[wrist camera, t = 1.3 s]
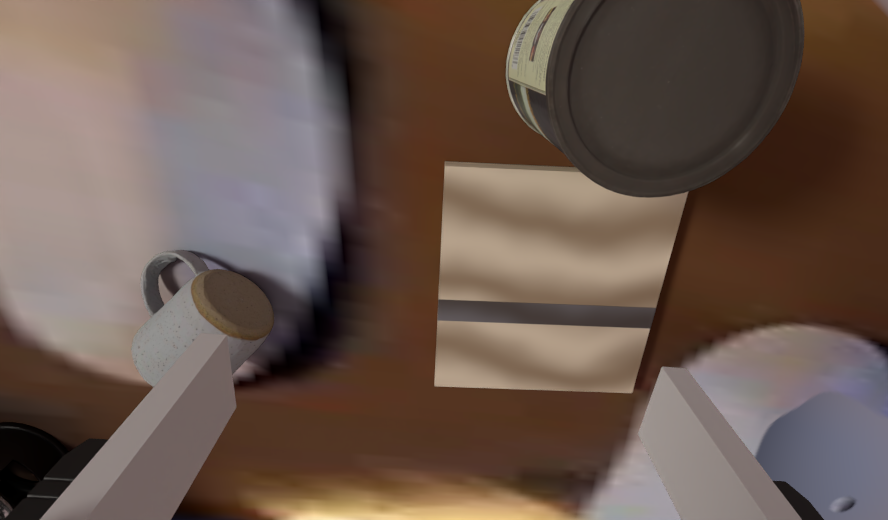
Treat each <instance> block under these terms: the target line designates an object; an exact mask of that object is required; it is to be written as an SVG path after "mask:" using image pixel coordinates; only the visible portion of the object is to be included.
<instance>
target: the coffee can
mask: <svg viewBox="0 0 888 520" xmlns="http://www.w3.org/2000/svg"><path fill="white" fill-rule="evenodd" d="M803 48H804V21H803V12H802V7H801V2H800V0H539V1H538V2H536V3H535V4H534V5H533V6H532V7H531V8H530V9H529V11H528V12H527V13H526V14H525V15H524V17H523V19H522V20H521V22H520V23H519V25H518V27H517V29H516V31H515V33H514V35H513V37H512V40H511V43H510V47H509V51H508V55H507V61H506V82H507V87H508V92H509V95H510V98H511V101H512V103H513V105H514V107H515V109H516V111H517V113H518V114H519V116H520V117H521V118H522V119H523V121H524V122H525V123H526V124H527V125H528V126H529V127H530V128H532V129H533V130H534V131H536V132H537V133H539V134H541V135H542V136H543V137H545V138H546V139H547V140H548V141H550V142H551V143H552V144H553V145H555V146H556V147H557V148H558V149H559V150H560V151H561V152H563V153H564V154H565V155H566V156H567V158H568V159H569V160H570V161H571V163H572V164H573V165H574V166H575V167H576V168H577V169H578V170H579V171H580V172H581V173H583V174H584V175H585V176H586V177H588V178H589V179H590V180H591V181H593V182H594V183H596V184H598V185H600V186H602V187H603V188H605V189H608V190H610V191H613V192H615V193H619V194H622V195H627V196H632V197H645V198H652V197H665V196H672V195H676V194H681V193H685V192H688V191H691V190H694V189H697V188H699V187H701V186H704V185H706V184H708V183H710V182H712V181H714V180H716V179H718V178H719V177H721V176H723V175H724V174H726V173H727V172H728V171H730V170H731V169H733V168H734V167H735V166H737V165H738V164H739V163H741V162H742V161H743V160H744V159H746V158H747V157H748V156H749V155H750V154H751V153H752V152H753V151H754V150H755V149H756V148H757V147H758V145H759V144H760V143H761V142H762V141H763V140H764V138H765V137H766V136H767V135H768V134H769V132H770V131H771V129H772V128H773V127H774V125H775V124H776V122H777V121H778V119H779V118H780V116H781V114H782V112H783V111H784V109H785V107H786V105H787V103H788V101H789V99H790V96H791V94H792V92H793V89H794V86H795V83H796V80H797V77H798V74H799V70H800V66H801V62H802V55H803Z"/></svg>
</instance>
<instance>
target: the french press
mask: <svg viewBox="0 0 888 520" xmlns="http://www.w3.org/2000/svg"><path fill="white" fill-rule="evenodd" d="M67 453H68V452H67V450H66V449H65V447H64V446H63V445H62V444H61V443H60V442H59V441H57V440H56V439H54V438H53V437H52V436H50V435H49V434H47V433H45V432H43V431H41V430H39V429H36V428H34V427H31V426H28V425H24V424H19V423H12V422H2V423H0V520H4V519H5V518H6V516H7V515H8V514H9V513H10V512H11V511H12V510H13V509H14V508H15V507H16V506H17V505H18V504H19V503H20V502H21V501H22V499H26V498H27V496H28V493H29V492H30V491H31V490H32V489H33V488H34V487H35V486H36V485H37V483H31V482H24V481H21V480H17V479H15V478H12V477H10V476H8V475H6V474H4V473H3V472H1V470H2V469H3V468H5V467H6V466H7V465H8V464H9V463H10V462H11V461H12V460H13V461H15V462H17V463H19V464H21V465H22V466H24V467H25V468H27V469H28V470H29V471H30V472H32V473H33V474H34V475H35V476H36V478H37V479H38V480H39V481H43V479H44V476H45V475H46V474H47V473H48V472H49V471H50V470H51V469H52V468H53V466H54V465H55V464H56V463H57V462H58V461H59V460H60V459H61V458H62V457H63V456H64V455H65V454H67Z"/></svg>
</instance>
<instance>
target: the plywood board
mask: <svg viewBox="0 0 888 520" xmlns="http://www.w3.org/2000/svg"><path fill="white" fill-rule="evenodd" d="M687 195H688V192H685V193H681V194H676V195H672V196H665V197H652V198H645V197H632V196H627V195H622V194H619V193H615V192H613V191H610V190H608V189H605V188H603V187H602V186H600V185H598V184H596V183H594V182H593V181H591V180H590V179H589V178H588V177H586V176H585V175H584V174H583V173H581V172H580V171H579V170H578V169H577V168H576V167H557V166H535V165H513V164H491V163H469V162H447V161H445V170H444V191H443V213H442V234H441V255H440V276H439V298H438V319H437V340H436V361H435V386H442V387H471V388H500V389H528V390H557V391H586V392H615V393H632V392H633V388H634V385H635V381H636V377H637V374H638V370H639V367H640V363H641V359H642V356H643V352H644V349H645V345H646V342H647V338H648V334H649V331H650V328H651V325H652V321H653V318H654V314H655V311H656V306H657V302H658V299H659V295H660V291H661V288H662V284H663V281H664V277H665V273H666V270H667V266H668V263H669V259H670V256H671V252H672V248H673V245H674V241H675V238H676V234H677V231H678V227H679V223H680V220H681V216H682V213H683V209H684V205H685V202H686V198H687Z"/></svg>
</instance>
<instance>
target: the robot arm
mask: <svg viewBox="0 0 888 520" xmlns="http://www.w3.org/2000/svg"><path fill="white" fill-rule="evenodd" d="M235 409H236V400H235V393H234V385H233V377H232V370H231V362H230V354H229V347H228V339H227V335H221V334H207V333H200V334H199V335H198V337H197V338H196V339H195V340H194V341H193V342H192V344H191V345H190V346H189V347H188V348H187V349H186V351H185V352H184V353H183V354H182V355H181V356H180V358H179V359H178V360H177V361H176V362H175V363H174V364H173V366H172V367H171V368H170V369H169V370H168V371H167V373H166V374H165V375H164V376H163V377H162V378H161V380H160V381H159V382H158V383H157V384H156V385H155V387H154V388H153V389H152V390H151V391H150V392H149V393H148V395H147V396H146V397H145V398H144V399H143V400H142V402H141V403H140V404H139V405H138V406H137V407H136V409H135V410H134V411H133V412H132V413H131V414H130V416H129V417H128V418H127V419H126V420H125V421H124V422H123V424H122V425H121V426H120V427H119V428H118V429H117V431H116V432H115V433H114V434H113V435H112V436H111V438H110V439H109V440H105V439H88V440H86V441H85V442H83V443H82V444H80V445H79V446H77V447H76V448H74V449H73V450H71V451H70V452H68V453H67V454H65V455H64V456H63V457H62V458H61V459H60V460H59V461H58V462H57V463H56V464H55V465H54V466H53V468H52V469H51V470H50V471H49V472H48V473H47V474H46V475H45V476H44V479H43V481H39V482H38V483H37V485H36V486H35V487H34V488H33V489H32V490H31V491H30V492H29V493H28V496H27V498H26V499H22V501H21V502H20V503H19V504H18V505H17V506H16V507H15V508H14V509H13V510H12V511H11V512H10V513H9V514H8V515H7V516H6V518H5V519H4V520H171V518H172V517H173V515H174V513H175V512H176V510H177V508H178V506H179V505H180V503H181V501H182V500H183V498H184V496H185V494H186V493H187V491H188V489H189V488H190V486H191V484H192V482H193V481H194V479H195V477H196V475H197V474H198V472H199V470H200V469H201V467H202V465H203V463H204V462H205V460H206V458H207V457H208V455H209V453H210V451H211V450H212V448H213V446H214V445H215V443H216V441H217V439H218V438H219V436H220V434H221V433H222V431H223V429H224V427H225V426H226V424H227V422H228V421H229V419H230V417H231V415H232V414H233V412H234V410H235ZM638 435H639V437H640V439H641V441H642V443H643V445H644V447H645V449H646V451H647V453H648V455H649V457H650V459H651V461H652V463H653V465H654V466H655V468H656V470H657V472H658V474H659V476H660V478H661V480H662V482H663V484H664V486H665V488H666V490H667V492H668V494H669V496H670V498H671V500H672V502H673V504H674V506H675V508H676V510H677V512H678V514H679V516H680V518H681V520H824V519H823V518H822V517H821V515H820V514H819V513H818V512H817V511H816V509H815V508H814V507H813V506H812V504H811V503H810V502H809V501H808V500H807V499H806V498H805V497H803V496H802V495H801V494H800V493H798V492H797V491H796V490H795V489H794V488H792V487H791V486H790V485H789V484H788V483H786V482H782V481H772V480H771V478H770V477H769V476H768V475H767V473H766V472H765V471H764V469H763V468H762V467H761V465H760V464H759V463H758V461H757V460H756V459H755V458H754V456H753V455H752V454H751V452H750V451H749V450H748V448H747V447H746V446H745V444H744V443H743V442H742V441H741V439H740V438H739V437H738V435H737V434H736V433H735V431H734V430H733V429H732V427H731V426H730V425H729V424H728V422H727V421H726V420H725V418H724V417H723V416H722V414H721V413H720V412H719V410H718V409H717V408H716V407H715V405H714V404H713V403H712V401H711V400H710V399H709V397H708V396H707V395H706V394H705V392H704V391H703V390H702V388H701V387H700V386H699V384H698V383H697V382H696V380H695V379H694V378H693V377H692V375H691V374H690V373H689V371H688V370H687V369H686V368H673V367H662V368H661V371H660V373H659V376H658V379H657V382H656V385H655V387H654V390H653V393H652V396H651V399H650V402H649V404H648V407H647V410H646V413H645V416H644V418H643V421H642V424H641V427H640V430H639V433H638Z"/></svg>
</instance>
